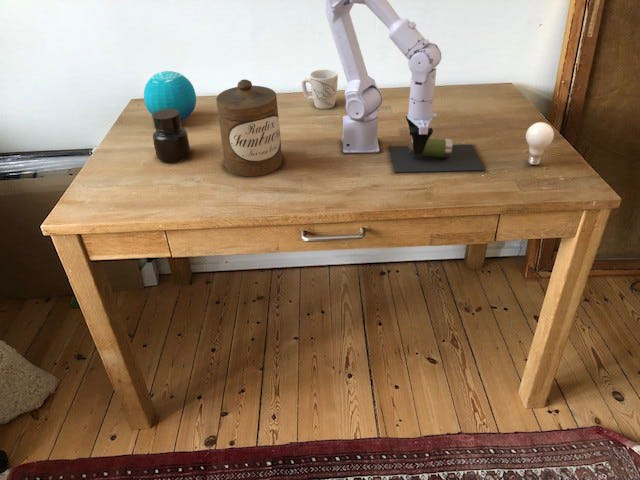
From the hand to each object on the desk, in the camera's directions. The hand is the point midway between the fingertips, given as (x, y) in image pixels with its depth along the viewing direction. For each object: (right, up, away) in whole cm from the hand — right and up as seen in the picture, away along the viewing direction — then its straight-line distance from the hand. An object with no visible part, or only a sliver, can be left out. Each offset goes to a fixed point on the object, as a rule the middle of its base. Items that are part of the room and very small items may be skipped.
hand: (416, 148), depth 139 cm
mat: (+5, -2, +2) cm, 6 cm away
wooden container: (-42, -3, +3) cm, 42 cm away
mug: (-25, +19, +33) cm, 46 cm away
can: (+8, 0, 0) cm, 8 cm away
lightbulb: (+29, -5, -2) cm, 29 cm away
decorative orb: (-69, +12, +26) cm, 75 cm away
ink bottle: (-64, -1, +7) cm, 64 cm away
